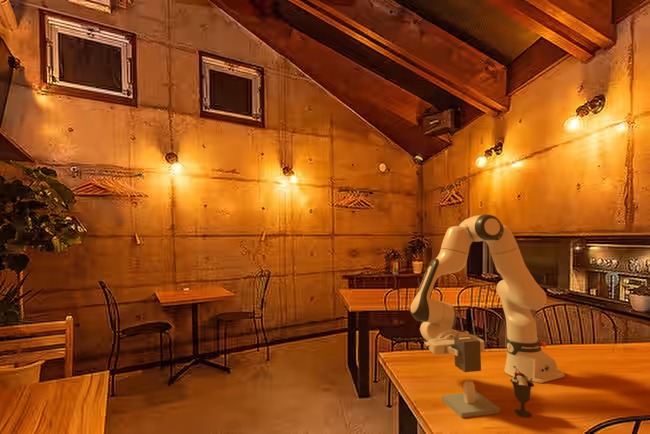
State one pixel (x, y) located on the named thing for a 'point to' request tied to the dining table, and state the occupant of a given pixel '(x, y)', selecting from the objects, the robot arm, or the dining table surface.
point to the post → (470, 402)
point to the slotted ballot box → (468, 353)
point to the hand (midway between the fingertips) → (468, 352)
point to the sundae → (522, 392)
